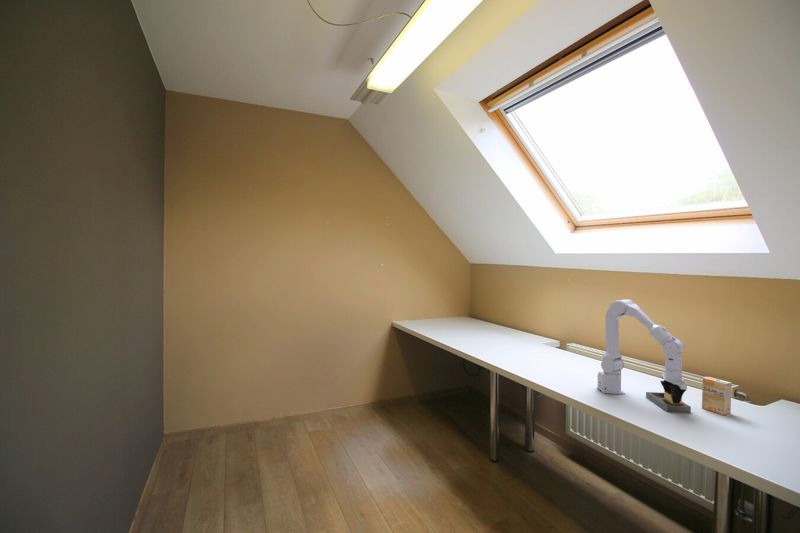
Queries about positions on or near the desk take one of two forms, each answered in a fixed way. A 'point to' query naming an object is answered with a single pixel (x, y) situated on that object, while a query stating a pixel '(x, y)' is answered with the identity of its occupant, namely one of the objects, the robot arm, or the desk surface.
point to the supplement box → (716, 395)
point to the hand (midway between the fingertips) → (672, 400)
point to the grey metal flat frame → (659, 400)
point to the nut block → (670, 398)
